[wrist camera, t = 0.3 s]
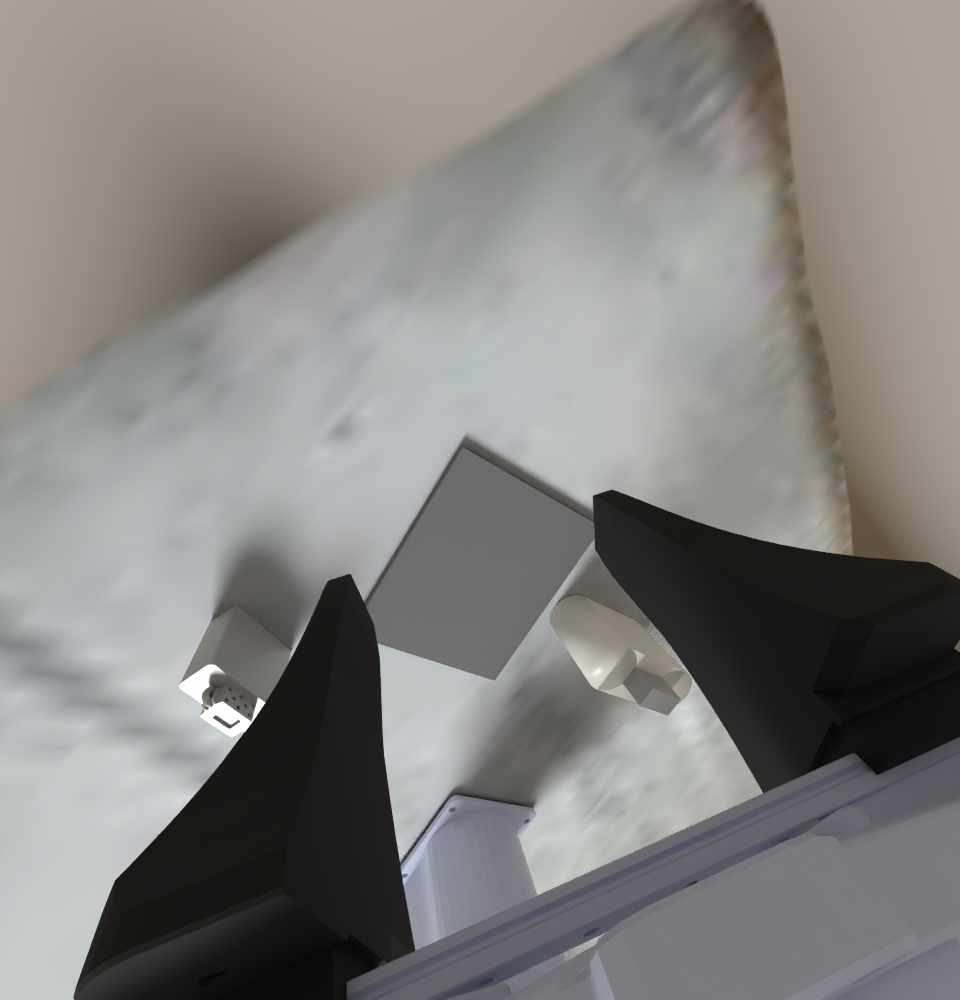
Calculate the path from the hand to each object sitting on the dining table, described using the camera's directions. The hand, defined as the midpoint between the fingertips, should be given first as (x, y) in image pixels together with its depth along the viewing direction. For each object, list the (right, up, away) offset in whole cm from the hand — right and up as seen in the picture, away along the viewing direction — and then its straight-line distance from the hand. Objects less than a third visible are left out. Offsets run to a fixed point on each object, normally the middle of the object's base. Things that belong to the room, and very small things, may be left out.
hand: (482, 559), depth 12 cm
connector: (+8, -7, +17) cm, 20 cm away
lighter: (-11, -7, +11) cm, 17 cm away
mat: (0, -3, +13) cm, 13 cm away
